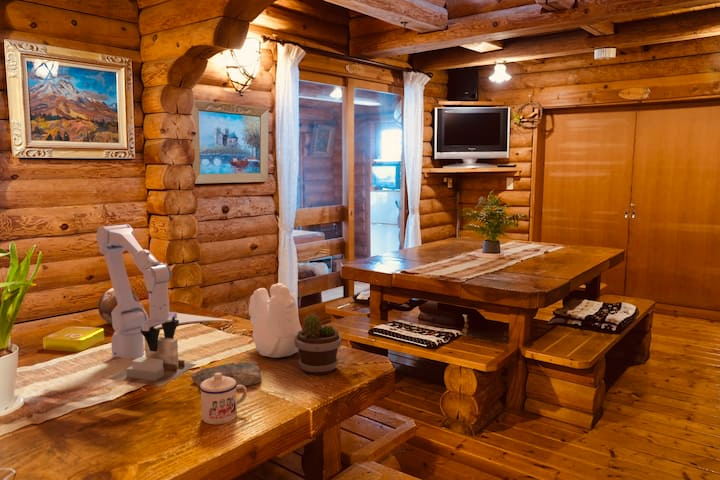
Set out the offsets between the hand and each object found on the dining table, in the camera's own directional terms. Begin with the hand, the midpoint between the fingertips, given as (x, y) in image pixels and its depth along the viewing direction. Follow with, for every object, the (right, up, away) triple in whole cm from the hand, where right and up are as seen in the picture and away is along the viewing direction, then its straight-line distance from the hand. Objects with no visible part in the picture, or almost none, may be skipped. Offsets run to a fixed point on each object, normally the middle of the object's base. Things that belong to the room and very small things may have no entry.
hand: (161, 347), depth 175 cm
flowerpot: (+48, -7, +2) cm, 49 cm away
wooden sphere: (-33, 0, +49) cm, 59 cm away
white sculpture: (+32, -5, +18) cm, 37 cm away
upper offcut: (-2, -5, -7) cm, 9 cm away
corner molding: (-7, -2, +42) cm, 42 cm away
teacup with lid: (+27, -12, -30) cm, 42 cm away
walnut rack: (-1, -8, -3) cm, 8 cm away
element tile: (-40, -4, +26) cm, 48 cm away
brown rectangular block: (0, -6, +1) cm, 6 cm away
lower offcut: (-2, -7, -7) cm, 10 cm away
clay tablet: (+22, -9, -8) cm, 25 cm away
